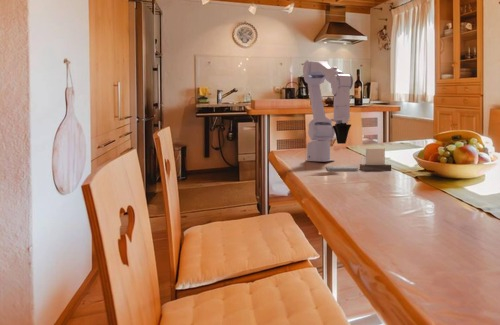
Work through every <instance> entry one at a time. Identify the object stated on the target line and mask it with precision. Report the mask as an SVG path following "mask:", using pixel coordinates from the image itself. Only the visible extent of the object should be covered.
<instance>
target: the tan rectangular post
mask: <svg viewBox="0 0 500 325" xmlns="http://www.w3.org/2000/svg"><path fill="white" fill-rule="evenodd" d="M385 151H386V148H384V147H383V148H378V147H377V148H374V147H373V148H365V164H366V165H385V164H386V162H385V158H386V152H385Z"/></svg>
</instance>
